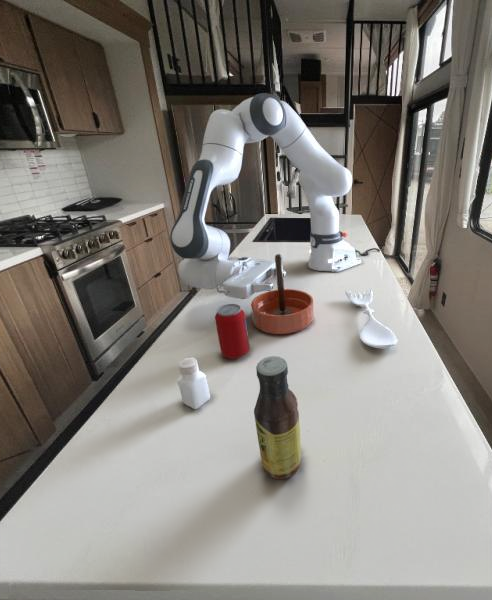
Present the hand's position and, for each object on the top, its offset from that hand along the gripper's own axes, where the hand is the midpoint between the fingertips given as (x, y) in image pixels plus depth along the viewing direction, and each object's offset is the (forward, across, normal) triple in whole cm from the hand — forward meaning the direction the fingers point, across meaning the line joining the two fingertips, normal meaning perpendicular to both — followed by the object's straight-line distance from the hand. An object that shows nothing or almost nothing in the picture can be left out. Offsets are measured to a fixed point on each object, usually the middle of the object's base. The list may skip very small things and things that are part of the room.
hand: (278, 280), depth 88 cm
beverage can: (-5, -18, +13) cm, 22 cm away
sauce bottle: (+17, -44, +13) cm, 49 cm away
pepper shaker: (-4, -35, +13) cm, 37 cm away
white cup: (-26, +19, +12) cm, 34 cm away
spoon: (+24, +5, +12) cm, 28 cm away
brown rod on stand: (0, 0, +12) cm, 12 cm away
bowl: (0, 0, +12) cm, 12 cm away
